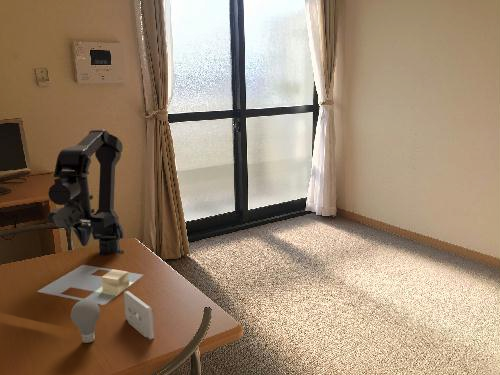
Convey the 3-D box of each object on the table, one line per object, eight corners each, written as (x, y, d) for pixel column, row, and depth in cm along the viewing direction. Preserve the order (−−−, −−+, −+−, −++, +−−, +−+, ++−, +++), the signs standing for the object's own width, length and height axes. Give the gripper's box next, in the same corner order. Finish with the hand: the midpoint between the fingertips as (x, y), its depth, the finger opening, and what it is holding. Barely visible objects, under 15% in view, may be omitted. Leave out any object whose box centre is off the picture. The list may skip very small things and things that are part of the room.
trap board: (83, 269, 130) (82, 264, 130) (144, 279, 123) (143, 274, 123) (37, 296, 114) (36, 291, 114) (104, 310, 107) (104, 305, 107)
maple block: (114, 282, 119) (113, 269, 118) (129, 284, 117) (128, 271, 116) (102, 290, 114) (101, 276, 113) (118, 293, 112) (116, 279, 111)
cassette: (156, 337, 95) (154, 307, 94) (149, 341, 94) (146, 310, 92) (131, 317, 104) (128, 289, 102) (124, 319, 103) (121, 291, 101)
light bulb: (107, 333, 97) (103, 294, 94) (95, 350, 91) (90, 308, 89) (82, 332, 98) (77, 293, 95) (69, 348, 92) (63, 307, 89)
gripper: (28, 199, 112) (37, 253, 117) (87, 205, 107) (94, 261, 111) (58, 188, 123) (65, 238, 127) (113, 193, 117) (118, 245, 121)
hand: (84, 245), depth 121 cm, fingers closed
